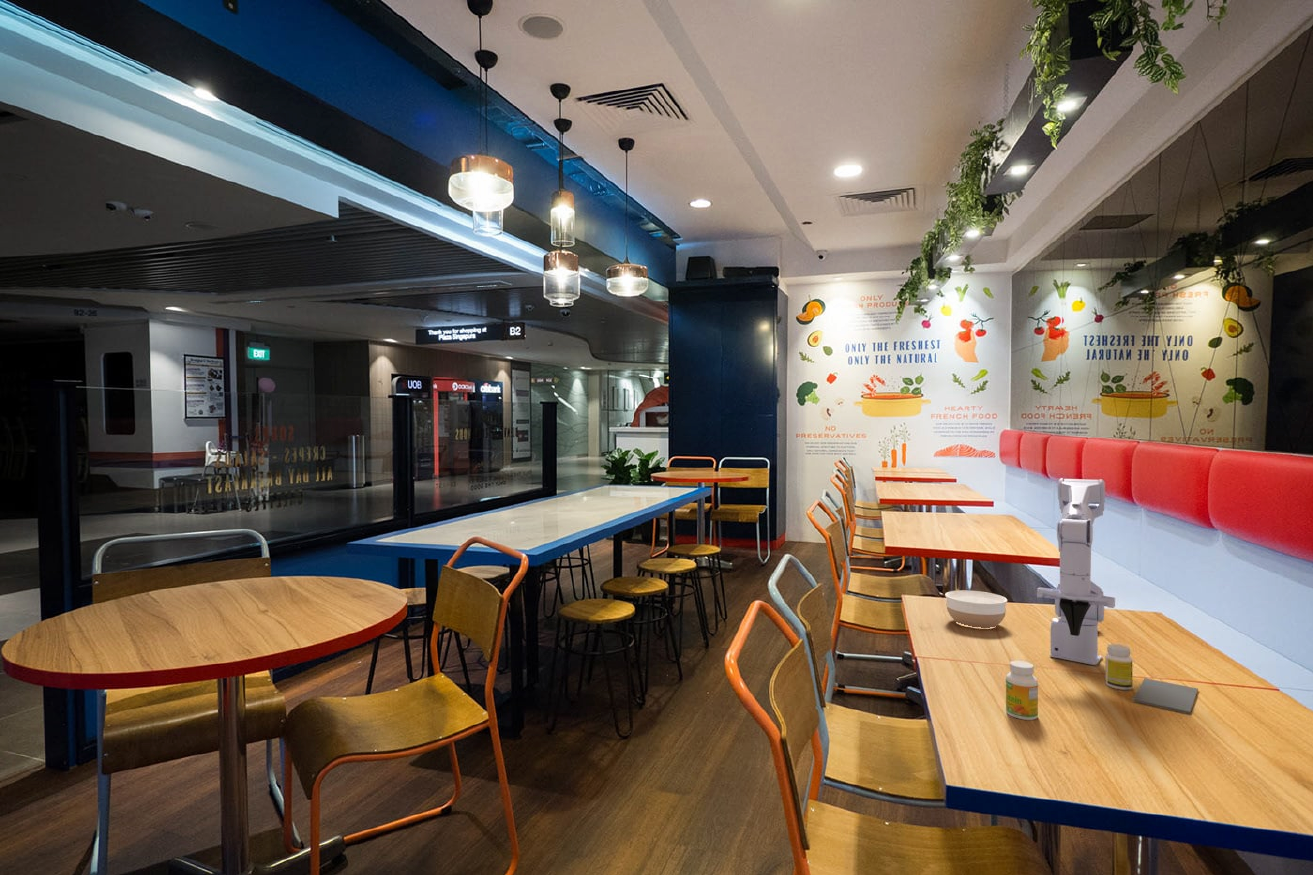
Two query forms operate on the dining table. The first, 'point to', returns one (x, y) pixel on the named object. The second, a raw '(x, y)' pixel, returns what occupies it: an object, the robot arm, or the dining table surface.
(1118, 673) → the supplement bottle
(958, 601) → the bowl
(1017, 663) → the supplement bottle
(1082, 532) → the robot arm
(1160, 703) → the mat
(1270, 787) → the dining table surface
